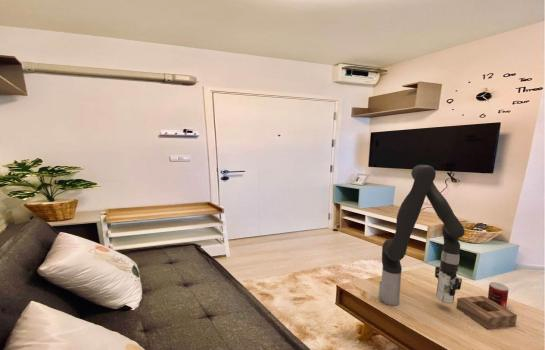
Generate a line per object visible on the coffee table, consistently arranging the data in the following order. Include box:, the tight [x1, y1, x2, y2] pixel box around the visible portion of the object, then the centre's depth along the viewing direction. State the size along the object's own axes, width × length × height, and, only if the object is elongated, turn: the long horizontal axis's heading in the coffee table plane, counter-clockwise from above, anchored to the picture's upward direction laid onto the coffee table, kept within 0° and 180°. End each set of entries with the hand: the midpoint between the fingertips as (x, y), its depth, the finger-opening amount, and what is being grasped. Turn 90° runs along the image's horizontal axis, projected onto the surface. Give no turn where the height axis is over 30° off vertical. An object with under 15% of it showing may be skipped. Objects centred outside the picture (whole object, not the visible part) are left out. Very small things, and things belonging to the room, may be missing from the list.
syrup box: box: [435, 271, 456, 304], centre depth 132 cm, size 6×6×14 cm
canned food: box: [487, 281, 509, 309], centre depth 136 cm, size 8×8×11 cm
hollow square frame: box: [456, 295, 518, 330], centre depth 126 cm, size 16×16×6 cm
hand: (445, 291), depth 132 cm, fingers closed on syrup box, 6 cm apart
